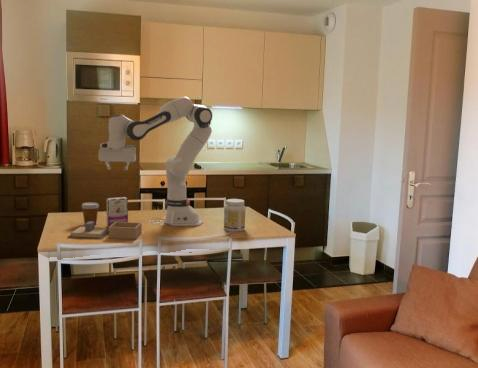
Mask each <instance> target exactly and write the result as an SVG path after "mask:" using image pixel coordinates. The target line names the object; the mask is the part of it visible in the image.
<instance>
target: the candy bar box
mask: <svg viewBox="0 0 478 368" xmlns="http://www.w3.org/2000/svg"><path fill="white" fill-rule="evenodd" d="M105 199H106V200H105V202H106V209H105V210H106V228H108V229H109V227H110V226H111V225H112V224H113V223H115V222H129V216H128V215H129V211H128V210H129V209H128V203H129V201H128V200H129V199H128V198H127V197H126V196H121V197H120V196H119V197H107V198H105Z"/></svg>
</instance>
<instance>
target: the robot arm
mask: <svg viewBox="0 0 478 368" xmlns="http://www.w3.org/2000/svg"><path fill="white" fill-rule="evenodd" d="M182 118H186V119H187V120H188V121H189V122H192V124H193V123H194V124H193V128H192V130H191V131H190V132H189V133H188V135H187V137H185V139H184V140H183V141H182V143H181V145H180V148H179V150H178V152H177V154H176V155H172V156H170V157H168V158H167V159H166V161H165V171H166V172H165V173H166V183H167V196H166V197H167V198H166V203H165V204H166V205H165V206H166V214H165V219H164V222H163V223H165V224H166V225H170V226H173V227H178V226H179V227H181V226H182V227H191V226H192V227H196V226H197V227H198V226H202V224H203V219H201V218H200V216H199V212H198V211H197V210H196V209H195V208H194V207H192V206H191V205H190V203H191V202H190V201H191V200H190V199H188V198H187V183H186V181H187V180H186V176H187V175H188V174H189V173H190V169H191V168H192V166H193V164H194V163H195V160H196V158H197V156H198V155H199V153H200V152H201V151H202V150H203V148H204V146H205V145H206V143H207V142H208V140H209V139H210V136H211V135H212V133H213V131H212V128H211V123H212V120H213V112H212V111H211V109H210V108H209V107H208V106H205V105H202V104H196V103H193V100H192V99H191V98H189V97H187V96H182V97H177V98H176V99H173V100H170V101H169V102H166V103H164V104H163V105H161V106H160V108H159V109H158V112H157V113H156V114H155V115H152V116H151V117H149V118H146V119H145V120H142V121H136V120H134V119H133V120H132V119H130V118H128V117H127V116H125V115H124V114H115V115H111V116H110V117H109V120H108V133H109V136H108V141H106V142H103V143H99V147H100V148H99V149H98V161H100V162H104V164H105V166H106V169H107V170H108V171H109V170H112V167H111V165H110V163H109V162H116V163H117V162H119V163H121V162H123V163H126V165H125V166H124V167H123V168H124V169H123V170H124V171H128V169H129V165H130V164H131V163H135V162H136V161H137V154H136V153H137V147H136V146H135V145H133V144H126V138H130V139H131V140H133V141H141V140H142V139H144V138H145V137H146V135H147V134H149V132H151V131H153V130H155V129H157V128H159V127H161V126H162V125H166V124H169V123H173V122H176V121H178V120H180V119H182Z"/></svg>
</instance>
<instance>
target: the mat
mask: <svg viewBox="0 0 478 368" xmlns="http://www.w3.org/2000/svg"><path fill="white" fill-rule="evenodd" d="M106 236H109V230H108V232H107V233H106V234H104V235H103V236H102V237H101V238H94V237H72V236H71V234H70V235H68V236H67V238H68V239H71V238H72V239H73V238H74V239H88V240H89V239H90V240H91V239H95V240H102V239H104V238H105V237H106Z"/></svg>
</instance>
